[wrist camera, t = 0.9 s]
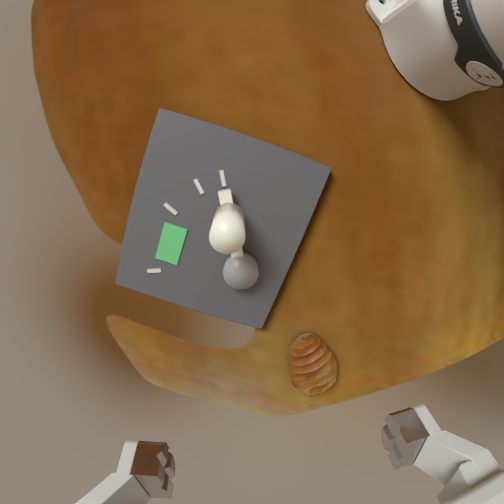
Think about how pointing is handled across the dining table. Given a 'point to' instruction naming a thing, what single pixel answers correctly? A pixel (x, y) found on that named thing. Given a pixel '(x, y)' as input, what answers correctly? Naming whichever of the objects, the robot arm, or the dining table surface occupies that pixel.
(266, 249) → the dial plate
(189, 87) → the dining table surface
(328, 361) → the pastry
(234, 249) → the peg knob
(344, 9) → the dining table surface
